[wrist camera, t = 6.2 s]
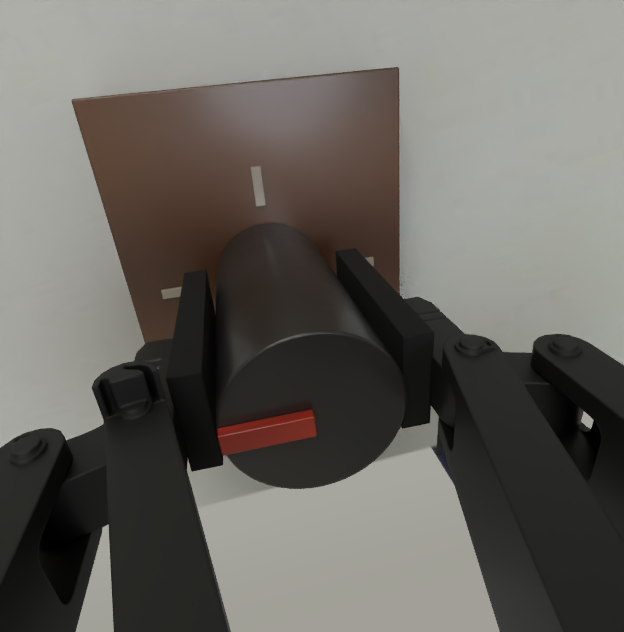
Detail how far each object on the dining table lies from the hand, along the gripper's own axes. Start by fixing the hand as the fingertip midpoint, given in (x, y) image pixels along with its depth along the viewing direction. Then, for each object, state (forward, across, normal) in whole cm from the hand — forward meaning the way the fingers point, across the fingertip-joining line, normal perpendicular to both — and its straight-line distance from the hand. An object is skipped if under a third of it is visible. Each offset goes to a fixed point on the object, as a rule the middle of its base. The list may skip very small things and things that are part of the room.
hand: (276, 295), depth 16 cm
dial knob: (+2, 0, 0) cm, 2 cm away
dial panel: (+5, 0, 0) cm, 5 cm away
